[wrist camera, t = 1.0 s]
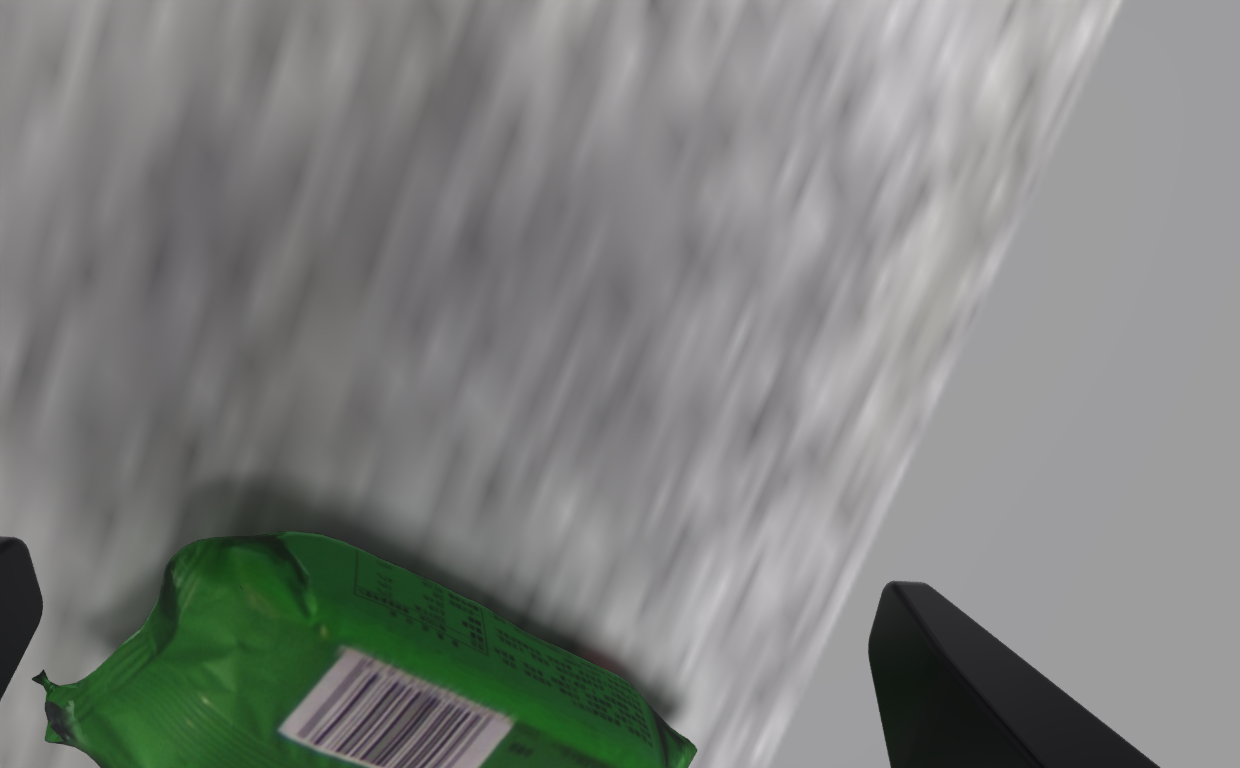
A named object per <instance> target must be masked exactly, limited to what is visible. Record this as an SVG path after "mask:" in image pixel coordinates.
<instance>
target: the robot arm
mask: <svg viewBox="0 0 1240 768" xmlns="http://www.w3.org/2000/svg"><path fill="white" fill-rule="evenodd" d="M42 610H43V600H42V595H41V591H40V588H39V585H38V581H37V578H36V574H35V571H34V567H33V564H32V560H31V557H30V553H29V550H28V548H27V546H26V544H25V543H24V542H23V541H22V540H20V539H18V538H15V537H0V700H1V698H2V696H3V694H4V692H5V690H6V688H7V686H8V684H9V682H10V680H11V678H12V677H13V675H14V673H15V671H16V669H17V667H18V665H19V663H20V661H21V659H22V657H23V655H24V653H25V651H26V649H27V647H28V645H29V643H30V641H31V639H32V637H33V635H34V633H35V631H36V629H37V627H38V625H39V622H40V619H41V616H42ZM868 654H869V662H870V667H871V672H872V677H873V682H874V686H875V692H876V697H877V702H878V707H879V712H880V717H881V722H882V727H883V731H884V736H885V741H886V746H887V751H888V756H889V761H890V766H891V768H1160V767H1159V766H1158V765H1157V764H1155V763H1154V762H1153V761H1151V760H1150V759H1149V758H1148V757H1146V756H1145V755H1144V754H1143V753H1141V752H1140V751H1139V750H1137V749H1136V748H1135V747H1134V746H1132V745H1131V744H1130V743H1128V742H1127V741H1126V740H1125V739H1123V738H1122V737H1121V736H1120V735H1119V734H1117V733H1116V732H1115V731H1113V730H1112V729H1111V728H1110V727H1108V726H1107V725H1106V724H1105V723H1103V722H1102V721H1101V720H1099V719H1098V718H1097V717H1096V716H1094V715H1093V714H1092V713H1091V712H1089V711H1088V710H1087V709H1085V708H1084V707H1083V706H1082V705H1080V704H1079V703H1078V702H1077V701H1075V700H1074V699H1073V698H1072V697H1070V696H1069V695H1068V694H1067V693H1065V692H1064V691H1063V690H1061V689H1060V688H1059V687H1057V686H1056V685H1055V684H1054V683H1053V682H1051V681H1050V680H1049V679H1048V678H1046V677H1045V676H1044V675H1042V674H1041V673H1040V672H1039V671H1037V670H1036V669H1035V668H1033V667H1032V666H1031V665H1030V664H1028V663H1027V662H1026V661H1025V660H1023V659H1022V658H1021V657H1020V656H1018V655H1017V654H1016V653H1015V652H1013V651H1012V650H1011V649H1009V648H1008V647H1007V646H1006V645H1004V644H1003V643H1002V642H1001V641H999V640H998V639H997V638H996V637H994V636H993V635H992V634H990V633H989V632H988V631H987V630H985V629H984V628H983V627H982V626H980V625H979V624H978V623H976V622H975V621H974V620H973V619H971V618H970V617H969V616H968V615H966V614H965V613H964V612H962V611H961V610H960V609H959V608H958V607H956V606H955V605H954V604H952V603H951V602H950V601H948V600H947V599H946V598H945V597H944V596H942V595H941V594H940V593H938V592H937V591H936V590H935V589H933V588H932V587H930V586H929V585H928V584H926V583H922V582H908V581H891V582H889V583H887V584H886V586H885V587H884V589H883V591H882V594H881V598H880V601H879V605H878V608H877V612H876V616H875V619H874V622H873V626H872V629H871V633H870V637H869V644H868Z"/></svg>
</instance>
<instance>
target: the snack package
mask: <svg viewBox="0 0 1240 768" xmlns="http://www.w3.org/2000/svg"><path fill="white" fill-rule="evenodd" d="M32 680H33V681H35V682H37V683H39V684H41V685H43V686H44V688H45V690H46V692H47V694H46V702H45V712H46V715H47V719H48V726H47V730H46V736H45V741H47V742H49V743H57V744H64V745H68V746H72V747H75V748H77V749H79V750H81V751H83V752H85V753H86V754H87V755H88V756H90V757H91V758H92V759H93V760H94V761H95V762H96V763H97V764H98V765H99V766H100V768H688V767H689V765H690V763H691V761H692V760H693V758H694V756H695V754H696V753H697V748H696V747H695V745H694V744H692V743H691V742H690V741H689V739H687V738H685V737H684V736H682V735H680V734H679V733H678V732H676V731H675V730H674V729H672V728H671V727H670V726H669V725H668V724H667V723H666V722H665V721H664V720H663V719H662V718H661V717H660V716H659V715H658V714H657V713H656V712H655V711H654V710H653V709H652V708H651V707H650V705H649V704H648V703H647V702H646V701H645V700H644V698H643V697H642V696H641V695H640V694H639V693H638V692H637V691H636V690H635V689H634V688H633V687H632V686H631V685H630V684H629V683H628V682H627V681H626V680H624V679H623V678H621V677H620V676H618V675H616V674H614V673H612V672H610V671H608V670H606V669H603V668H601V667H599V666H597V665H595V664H593V663H591V662H589V661H586V660H584V659H582V658H580V657H578V656H576V655H574V654H572V653H570V652H568V651H566V650H564V649H561V648H559V647H557V646H555V645H553V644H550V643H548V642H546V641H543V640H541V639H539V638H537V637H535V636H533V635H531V634H529V633H528V632H526V631H524V630H522V629H520V628H519V627H517V626H515V625H514V624H512V623H510V622H509V621H507V620H506V619H504V618H503V617H501V616H499V615H498V614H496V613H494V612H493V611H491V610H489V609H487V608H486V607H484V606H482V605H480V604H479V603H477V602H475V601H473V600H470V599H468V598H465V597H463V596H460V595H458V594H457V593H455V592H453V591H451V590H449V589H447V588H445V587H443V586H441V585H439V584H437V583H435V582H433V581H431V580H429V579H426V578H424V577H422V576H420V575H417V574H415V573H413V572H411V571H408V570H406V569H404V568H402V567H399V566H396V565H394V564H391V563H389V562H387V561H385V560H382V559H380V558H378V557H376V556H374V555H372V554H370V553H368V552H366V551H363V550H361V549H359V548H357V547H354V546H352V545H350V544H348V543H345V542H343V541H341V540H337V539H333V538H330V537H327V536H324V535H321V534H317V533H315V534H313V533H304V532H294V531H288V532H278V533H272V534H266V535H258V536H233V537H215V538H208V539H202V540H198V541H196V542H193V543H191V544H189V545H187V546H186V547H184V548H183V549H181V550H180V551H179V552H178V553H177V554H176V555H175V556H174V557H173V558H171V560H170V561H169V563H168V564H167V566H166V569H165V573H164V577H163V582H162V586H161V590H160V593H159V597H158V599H157V601H156V603H155V605H154V607H153V609H152V611H151V613H150V615H149V616H148V618H147V620H146V621H145V623H144V624H143V626H142V627H141V628H140V629H139V630H138V631H137V632H136V633H135V634H133V635H132V636H131V637H130V638H129V639H127V640H126V641H125V642H124V643H122V644H121V645H120V646H119V647H118V648H117V650H116V651H115V652H114V653H113V654H112V655H111V656H110V657H109V658H108V659H107V660H106V661H105V662H104V663H103V664H102V665H101V666H100V667H98V668H97V669H96V670H95V671H94V672H93V673H91V674H90V675H88V676H87V677H86V678H84V679H82V680H80V681H78V682H76V683H73V684H67V685H62V686H58V685H56V684H54V683H52V682H50V681H49V680H48V678H47V676H46V673H45V671H44V669H43V671H42V672H41V673H40V674H39V675H37V676H36V677H34V678H32Z"/></svg>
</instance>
